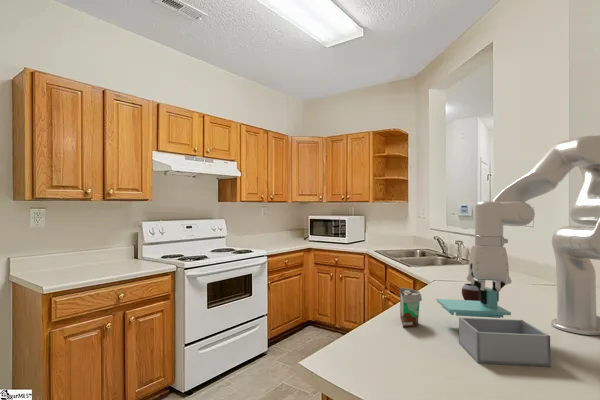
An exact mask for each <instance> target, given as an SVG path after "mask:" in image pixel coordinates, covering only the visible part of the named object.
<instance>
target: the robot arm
mask: <svg viewBox="0 0 600 400" xmlns="http://www.w3.org/2000/svg"><path fill="white" fill-rule="evenodd" d="M575 167H578V168H579V170H580V172H581V175H582V183H581V185H580V189H579V191H578V192H577V195H576V197H575V199H574V201H573V202H572V206H571V209H570V212H569V215H570V218H571V220H572V221H573V222H575V224H578V225H568V226H567V225H566V226H562V227H559V228H558V229H556V230H555V231H554V232H553V235H552V237H551V245H552V249H553V253H554V256H555V258H554V259H555V266H556V267H555V268H556V269H555V270H556V276H555V277H556V316H557V318H555V319H554V318H553V319H552V320H550V321H551V323H550V324H551V325H552V326H553V327H554V328H555V329H558V330H561V331H564V332H569V333H572V334H577V335H579V334H580V335H587V336H600V316H599V315H597V286H596V285H597V284H596V283H597V282H596V281H597V280H596V270H595V267H594V264H593V263H592V260H597V261H600V134H599V135H585V136H584V135H583V136H580V137H576V138H571V139H566V140H563V141H559V142H557V143H555V144H554V145H552V146H551V147H550V148H549V149H548V150H547V152H545V154H544V155H543V156H542V157H541V158H540V159H539V161H537V163H536V164H535V165H534V166H533V167H532V168H531V169H530V170H529V172H527V173H526V174H525V175H523V176H522V177H520V178H518V179H517V180H515V181H514V182H513V183H511V184H510V185H508V186H506V187H505V188H504V189H503V190H502V191H500V192H499V193H498V195H497V196H496V197H494V199H493V200H492V201H484V200H483V201H478V202H477V203H475V208H474V210H475V211H474V212H475V213H474V215H475V216H474V217H475V218H474V223H475V225H474V245H471V249H470V254H469V261H468V275H467V277H466V281H468V282H470V284H471V283H473V284H474V285H475V286H476V287H477V288H478V289H479V300H480V302H481V303H483V304H487V291H485V287H486V281H491V284H492V285H491V286H492V287H491V289H493V290H495V291H497V292H498V293H497V303H498V302H499V297H500V295H499V293H500V292H501V290H502V288H504V287H505V286H507V285H509V284H511V283H512V279H511V277H510V269H509V268H510V266H509V258H508V253H507V249H506V247H504V246H505V244H508V243H509V239H508V238H505V236H504V227H505V226H507V227H524V226H527V225H529V224H530V223H532V221H534V219H535V215H536V213H535V210H534V208H533V206H531V204H529V203H528V201H530V200H532V199H534V198H537V197H540V196H543V195H545V194H548V193H550V192H551V191H554V190H555V189H556V188H557V187H558V186H559V185H560V183H561V182H562V181H563V180H564V179H565V178H566V177H567V176H568V174H570V172H571V171H572V170H573V169H574V168H575ZM581 225H582V226H581Z"/></svg>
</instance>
